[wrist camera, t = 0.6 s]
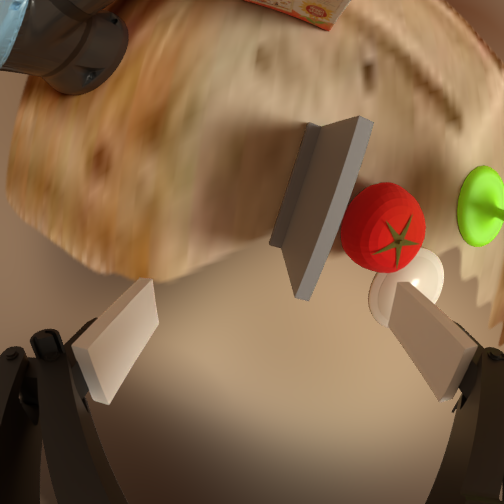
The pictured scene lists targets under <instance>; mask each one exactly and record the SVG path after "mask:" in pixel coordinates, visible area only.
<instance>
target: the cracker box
mask: <svg viewBox="0 0 504 504" xmlns="http://www.w3.org/2000/svg"><path fill="white" fill-rule="evenodd" d="M244 1H248V2H251V3H255V4H258V5H261V6H265V7H268V8H271V9H274V10H277V11H280V12H283V13H285V14H288V15H291V16H294V17H296V18H299V19H301V20H304V21H306V22H308V23H311V24H313V25H316V26H318V27H320V28H322V29H324V30H327V31H330V30H331V28H332V27H333V25H334V24H335V22H336V21H337V20H338V18H339V17H340V15H341V14H342V13H343V11H344V10H345V8H346V7H347V6H348V4H349V3H350V1H351V0H244Z"/></svg>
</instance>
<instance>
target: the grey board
mask: <svg viewBox="0 0 504 504" xmlns="http://www.w3.org/2000/svg"><path fill="white" fill-rule="evenodd" d="M373 124H374V122H372V121H370V120H368V119H366V118H364V117H361V116H356V117H352V118H349V119H345V120H342V121H339V122H335V123H332V124H329V125H325V126H322V127H321V126H318V125H315V124H313V123H310V122H309V123H308V124H307V127H306V130H305V133H304V136H303V140H302V143H301V146H300V149H299V152H298V155H297V158H296V162H295V165H294V168H293V171H292V174H291V177H290V180H289V183H288V186H287V190H286V193H285V196H284V199H283V202H282V205H281V208H280V211H279V214H278V217H277V220H276V223H275V226H274V229H273V232H272V235H271V239H270V241H269V245H271V246H275V247H279V248H281V250H282V253H283V257H284V260H285V263H286V267H287V271H288V275H289V278H290V282H291V286H292V289H293V293H294V296H295V298H298V299H302V300H306V301H309V300H310V297H311V295H312V293H313V291H314V288H315V286H316V283H317V281H318V279H319V276H320V274H321V272H322V269H323V267H324V264H325V262H326V260H327V257H328V255H329V252H330V250H331V247H332V245H333V242H334V239H335V237H336V234H337V232H338V229H339V226H340V224H341V221H342V218H343V216H344V213H345V210H346V207H347V205H348V202H349V199H350V196H351V193H352V190H353V188H354V185H355V182H356V179H357V176H358V173H359V170H360V167H361V164H362V161H363V157H364V154H365V151H366V148H367V145H368V141H369V138H370V135H371V131H372V128H373Z"/></svg>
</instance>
